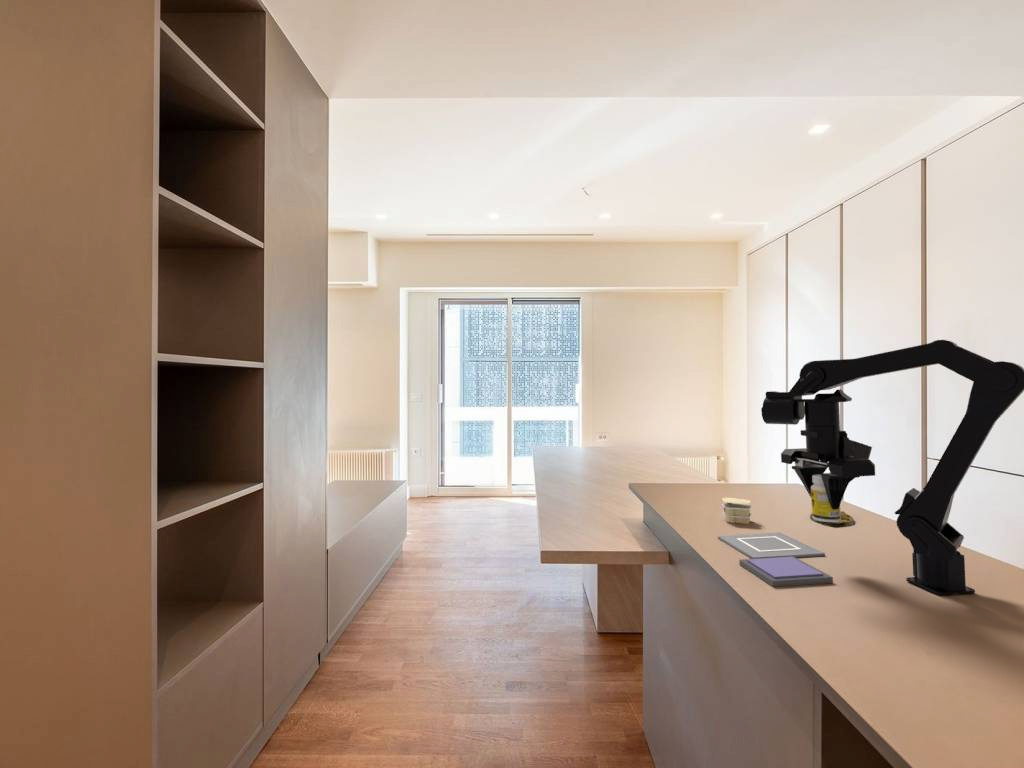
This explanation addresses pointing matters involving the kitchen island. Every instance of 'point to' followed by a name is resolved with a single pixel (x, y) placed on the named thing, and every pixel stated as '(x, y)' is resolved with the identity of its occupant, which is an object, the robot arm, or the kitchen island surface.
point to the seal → (844, 521)
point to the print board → (769, 545)
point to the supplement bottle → (822, 502)
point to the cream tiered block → (736, 510)
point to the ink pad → (785, 571)
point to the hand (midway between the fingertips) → (825, 506)
